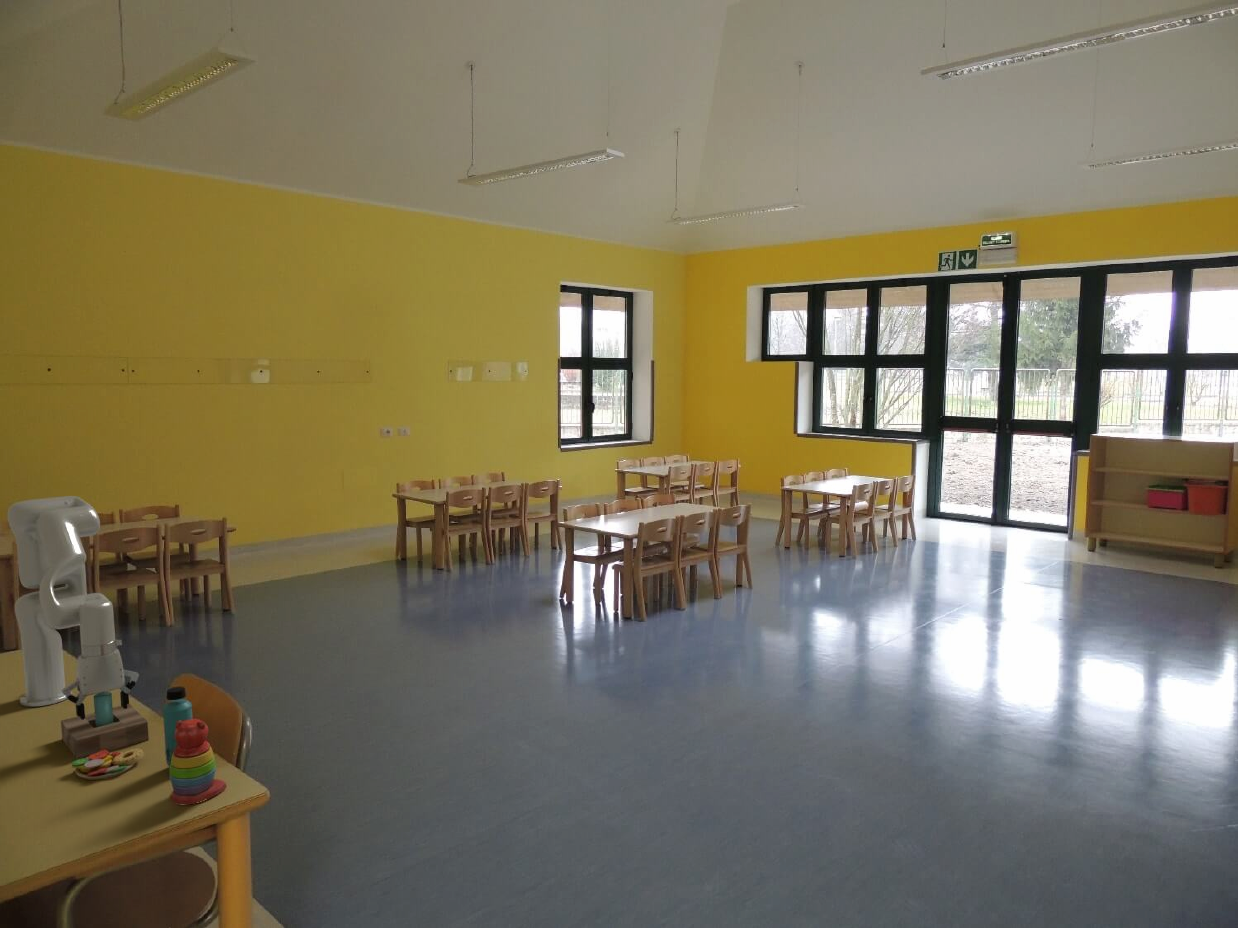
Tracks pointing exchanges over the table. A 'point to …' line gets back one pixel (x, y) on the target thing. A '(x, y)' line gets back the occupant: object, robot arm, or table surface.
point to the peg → (103, 709)
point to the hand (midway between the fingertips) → (103, 712)
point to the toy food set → (106, 764)
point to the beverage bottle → (174, 717)
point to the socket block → (104, 732)
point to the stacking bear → (193, 764)
